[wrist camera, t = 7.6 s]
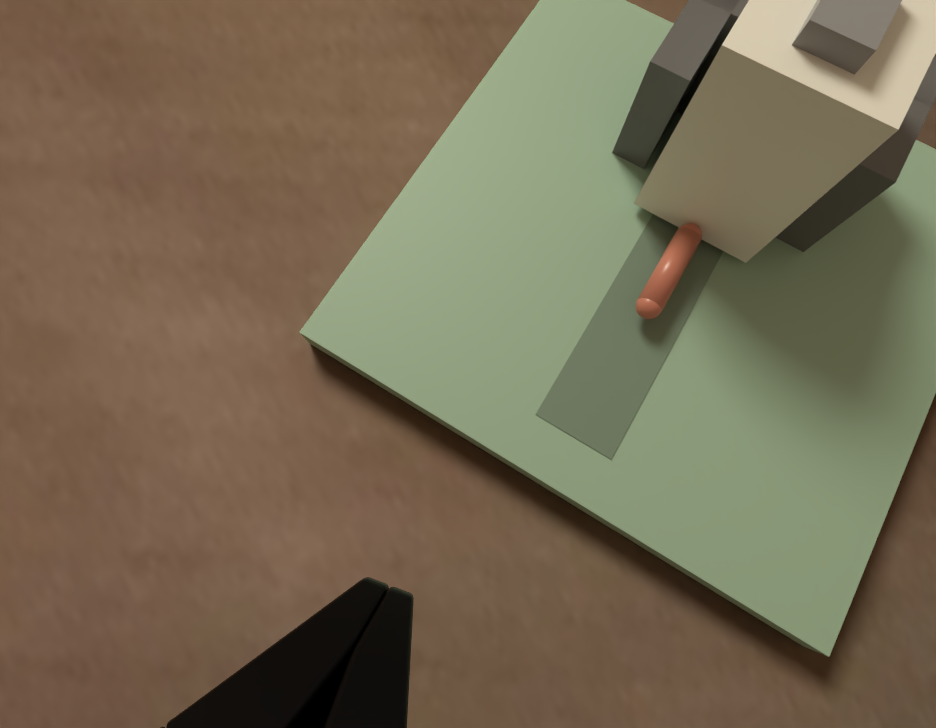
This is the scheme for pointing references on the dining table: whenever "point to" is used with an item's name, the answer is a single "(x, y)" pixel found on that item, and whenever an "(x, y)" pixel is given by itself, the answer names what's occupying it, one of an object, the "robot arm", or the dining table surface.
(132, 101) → the dining table surface
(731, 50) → the plug
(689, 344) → the board
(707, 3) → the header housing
